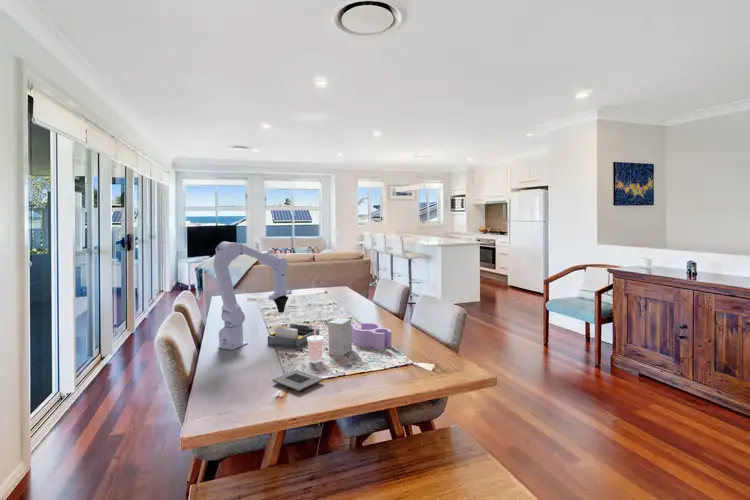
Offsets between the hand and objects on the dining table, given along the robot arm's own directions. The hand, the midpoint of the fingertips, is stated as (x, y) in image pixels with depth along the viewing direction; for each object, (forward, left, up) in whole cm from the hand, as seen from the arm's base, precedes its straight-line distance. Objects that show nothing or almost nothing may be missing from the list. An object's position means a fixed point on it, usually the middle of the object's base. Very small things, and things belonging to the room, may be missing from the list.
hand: (281, 312), depth 189 cm
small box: (-12, -38, -10) cm, 41 cm away
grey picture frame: (-44, -40, -11) cm, 60 cm away
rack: (-7, -12, -10) cm, 17 cm away
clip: (+3, -45, -10) cm, 46 cm away
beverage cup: (-24, -34, -10) cm, 43 cm away
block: (-12, -12, -10) cm, 20 cm away
